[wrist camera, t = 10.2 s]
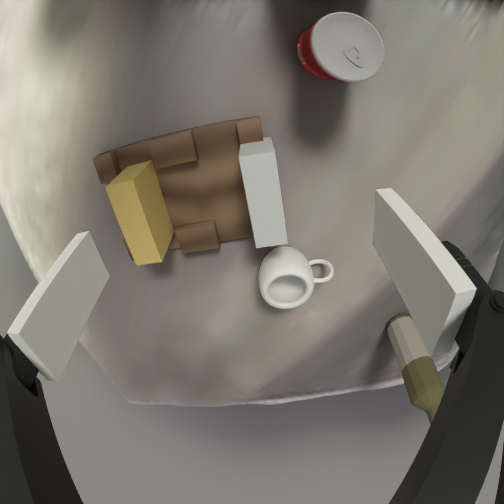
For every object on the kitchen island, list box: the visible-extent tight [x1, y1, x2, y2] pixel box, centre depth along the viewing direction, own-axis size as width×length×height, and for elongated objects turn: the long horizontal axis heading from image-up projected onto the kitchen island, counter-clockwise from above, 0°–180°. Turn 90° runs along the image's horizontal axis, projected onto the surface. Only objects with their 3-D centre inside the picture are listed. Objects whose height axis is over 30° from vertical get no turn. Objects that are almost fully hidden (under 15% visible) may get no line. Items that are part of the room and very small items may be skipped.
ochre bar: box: [105, 160, 174, 265], centre depth 40 cm, size 12×4×8 cm, turn 10°
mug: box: [258, 246, 334, 309], centre depth 47 cm, size 12×8×8 cm
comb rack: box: [93, 116, 264, 261], centre depth 43 cm, size 18×24×3 cm
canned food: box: [297, 12, 385, 82], centre depth 28 cm, size 8×8×11 cm
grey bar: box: [239, 137, 288, 248], centre depth 39 cm, size 12×4×8 cm, turn 10°
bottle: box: [387, 314, 444, 424], centre depth 48 cm, size 7×7×30 cm
